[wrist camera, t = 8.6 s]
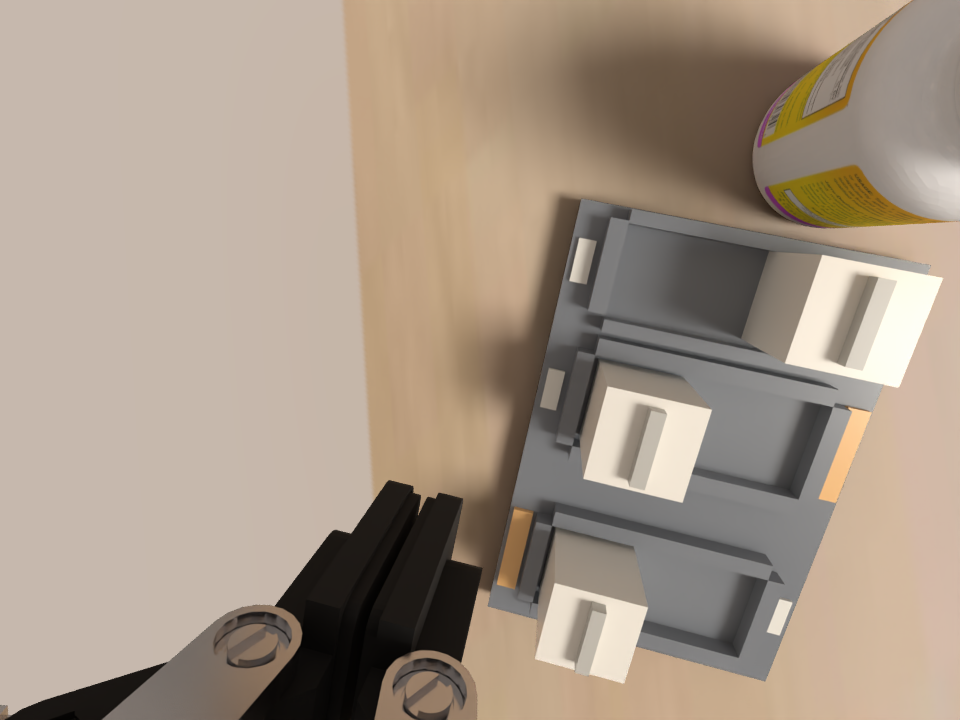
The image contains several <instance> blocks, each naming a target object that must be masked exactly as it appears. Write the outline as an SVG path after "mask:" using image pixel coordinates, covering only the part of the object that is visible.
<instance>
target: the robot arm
mask: <svg viewBox="0 0 960 720" xmlns="http://www.w3.org/2000/svg"><path fill="white" fill-rule="evenodd" d="M413 489H414V488H413V486H411V485H407V484H403V483H399V482H395V481H391V480H388V482H387V483H386V484H385V486H384V487H383V489H382V490H381V491H380V493H379V494H378V496H377V497H376V499H375V500H374V502H373V503H372V505H371V506H370V507H369V509H368V510H367V512H366V513H365V515H364V516H363V518H362V519H361V520H360V522H359V523H358V525H357V526H356V528H355V529H354V531H353V532H352V533H351V534H350V533H346V532H342V531H338V530H334V531H332V532H331V533H330V534H329V536H328V537H327V538H326V540H325V541H324V542H323V543H322V545H321V546H320V547H319V549H318V550H317V551H316V553H315V554H314V555H313V556H312V558H311V559H310V560H309V562H308V563H307V564H306V566H305V567H304V568H303V570H302V571H301V572H300V574H299V575H298V576H297V577H296V579H295V580H294V581H293V583H292V584H291V586H290V587H289V588H288V589H287V591H286V592H285V593H284V595H283V596H282V597H281V598H280V600H279V601H278V602H277V604H276V605H275V606H270V605H253V606H247V607H241V608H239V609H236V610H234V611H231V612H229V613H227V614H225V615H224V616H222V617H221V618H219V619H218V620H216V621H215V622H214V623H213V624H211V625H210V626H209V627H208V628H207V629H206V630H204V631H203V632H202V633H201V634H200V635H199V636H198V637H196V639H194V640H193V641H192V642H191V643H190V644H188V645H187V646H186V647H185V648H184V649H183V650H182V651H180V652H179V653H178V654H177V655H176V656H175V657H173V658H172V659H171V660H170V661H169V662H166V663H163V664H160V665H156V666H153V667H150V668H147V669H143V670H140V671H137V672H134V673H130V674H127V675H124V676H121V677H118V678H114V679H111V680H108V681H105V682H101V683H98V684H95V685H92V686H89V687H86V688H82V689H79V690H76V691H73V692H69V693H66V694H63V695H60V696H56V697H53V698H50V699H47V700H43V701H41V702H38V703H36V704H33V705H31V706H28V707H26V708H24V709H21V710H20V711H18V712H17V713H15V714H13V715H8V706H5V705H3V706H2V705H0V720H477V691H476V685H475V682H474V680H473V678H472V676H471V674H470V672H469V671H468V670H467V669H466V668H465V667H464V666H463V665H462V664H461V662H462V657H463V653H464V649H465V644H466V640H467V635H468V631H469V626H470V622H471V618H472V613H473V609H474V604H475V600H476V595H477V591H478V586H479V582H480V577H481V573H482V568H480V567H476V566H472V565H469V564H465V563H461V562H457V561H453V560H451V558H452V553H453V548H454V543H455V538H456V533H457V528H458V524H459V519H460V514H461V509H462V504H463V498H459V497H455V496H451V495H447V494H443V493H438V495H437V497H436V499H435V498H431V497H427V499H426V501H425V503H424V505H423V507H422V509H421V511H420V513H419V515H418V512H419V506H420V500H421V495H419V494H415V493H413Z"/></svg>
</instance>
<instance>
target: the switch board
mask: <svg viewBox="0 0 960 720" xmlns="http://www.w3.org/2000/svg"><path fill="white" fill-rule="evenodd" d="M930 267H931V265H927V264H922V263H916V262H911V261H906V260H901V259H895V258H890V257H885V256H880V255H875V254H869V253H864V252H859V251H854V250H848V249H843V248H838V247H833V246H827V245H822V244H817V243H812V242H806V241H801V240H796V239H791V238H786V237H780V236H775V235H770V234H765V233H759V232H754V231H749V230H744V229H738V228H733V227H728V226H723V225H718V224H712V223H707V222H702V221H697V220H691V219H686V218H681V217H676V216H670V215H665V214H660V213H655V212H650V211H644V210H639V209H634V208H629V207H623V206H618V205H613V204H608V203H602V202H597V201H592V200H587V199H581V201H580V205H579V210H578V214H577V219H576V223H575V227H574V232H573V236H572V240H571V245H570V249H569V253H568V258H567V262H566V266H565V271H564V275H563V279H562V284H561V288H560V292H559V297H558V301H557V306H556V310H555V314H554V319H553V323H552V327H551V332H550V336H549V340H548V345H547V349H546V353H545V358H544V362H543V366H542V371H541V375H540V379H539V384H538V388H537V392H536V397H535V401H534V406H533V410H532V414H531V419H530V423H529V427H528V432H527V436H526V440H525V445H524V449H523V453H522V458H521V462H520V466H519V471H518V475H517V479H516V484H515V488H514V493H513V497H512V501H511V506H510V510H509V514H508V519H507V523H506V527H505V532H504V536H503V540H502V545H501V549H500V553H499V558H498V562H497V566H496V571H495V575H494V580H493V584H492V588H491V593H490V598H489V603H488V606H489V607H492V608H496V609H500V610H503V611H507V612H511V613H514V614H518V615H522V616H525V617H529V618H533V619H537V616H538V600H539V587H540V583H541V580H542V576H543V572H544V568H545V564H546V560H547V556H548V552H549V548H550V544H551V540H552V537H553V533H554V529H555V527H558V528H562V529H566V530H570V531H574V532H578V533H582V534H586V535H590V536H594V537H598V538H602V539H606V540H610V541H614V542H618V543H622V544H626V545H630V546H634V550H635V554H636V558H637V562H638V567H639V571H640V575H641V579H642V584H643V588H644V592H645V596H646V601H647V605H648V610H647V613H646V616H645V619H644V622H643V625H642V628H641V632H640V635H639V638H638V641H637V644H636V647H640V648H644V649H647V650H651V651H655V652H658V653H662V654H666V655H669V656H673V657H677V658H680V659H684V660H688V661H692V662H695V663H699V664H703V665H706V666H710V667H714V668H717V669H721V670H725V671H728V672H732V673H736V674H740V675H743V676H747V677H751V678H754V679H758V680H762V681H766V678H767V676H768V673H769V671H770V668H771V666H772V663H773V661H774V658H775V656H776V653H777V651H778V648H779V646H780V643H781V641H782V638H783V636H784V633H785V631H786V628H787V626H788V623H789V621H790V618H791V616H792V613H793V611H794V608H795V606H796V603H797V601H798V598H799V596H800V593H801V591H802V588H803V586H804V583H805V581H806V578H807V576H808V573H809V571H810V568H811V565H812V563H813V560H814V558H815V555H816V553H817V550H818V548H819V545H820V543H821V540H822V538H823V535H824V533H825V530H826V528H827V525H828V523H829V520H830V518H831V515H832V513H833V510H834V508H835V505H836V503H837V500H838V498H839V495H840V493H841V490H842V488H843V485H844V483H845V480H846V478H847V475H848V473H849V470H850V468H851V465H852V463H853V460H854V457H855V455H856V452H857V450H858V447H859V445H860V442H861V440H862V437H863V435H864V432H865V430H866V427H867V425H868V422H869V420H870V417H871V415H872V412H873V410H874V407H875V405H876V402H877V400H878V397H879V395H880V392H881V390H882V387H883V385H888V386H893V387H898V388H899V386H900V383H901V381H902V378H903V376H904V373H905V371H906V368H907V366H908V363H909V361H910V359H911V356H912V354H913V351H914V349H915V346H916V344H917V341H918V339H919V336H920V334H921V331H922V329H923V327H924V324H925V322H926V319H927V317H928V314H929V312H930V309H931V307H932V304H933V302H934V299H935V297H936V295H937V292H938V290H939V287H940V285H941V282H942V280H943V278H940V277H935V276H929V275H927V274H928V272H929V269H930ZM599 359H604V360H608V361H613V362H618V363H622V364H627V365H631V366H636V367H640V368H645V369H649V370H654V371H659V372H663V373H668V374H672V375H677V376H681V377H684V378H685V379H686V381H687V382H688V383H689V384H690V385H691V386H692V387H693V389H694V390H695V391H696V392H697V393H698V394H699V395H700V397H701V398H702V399H703V400H704V401H705V402H706V403H707V405H708V406H709V407H710V408H711V409H712V412H711V415H710V418H709V421H708V424H707V427H706V431H705V434H704V437H703V440H702V443H701V446H700V449H699V453H698V456H697V459H696V462H695V465H694V468H693V471H692V474H691V478H690V481H689V484H688V487H687V490H686V493H685V496H684V500H683V503H681V502H677V501H673V500H668V499H664V498H660V497H656V496H652V495H648V494H644V493H640V492H635V491H631V490H627V489H623V488H619V487H615V486H611V485H607V484H603V483H598V482H594V481H590V480H586V479H583V471H582V460H581V449H580V438H579V434H580V430H581V426H582V422H583V419H584V415H585V411H586V407H587V403H588V399H589V395H590V391H591V387H592V383H593V379H594V376H595V372H596V368H597V364H598V360H599Z"/></svg>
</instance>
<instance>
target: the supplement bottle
mask: <svg viewBox="0 0 960 720" xmlns="http://www.w3.org/2000/svg"><path fill="white" fill-rule="evenodd" d="M753 170H754V176H755V180H756V183H757V186H758V188H759V190H760V192H761V194H762V195H763V197H764V199H765V200H766V201H767V203H768V204H769V205H770V206H771V207H772V208H773V209H774V210H775V211H776V212H778V213H779V214H780V215H782V216H783V217H785V218H787V219H788V220H791V221H793V222H795V223H798V224H801V225H804V226H809V227H815V228H847V227H866V226H886V225H905V224H922V223H939V222H959V221H960V0H912V1H911V2H909V3H908V4H906V5H905V6H903V7H902V8H901V9H899V10H898V11H896V12H895V13H894V14H892V15H891V16H889V17H888V18H886V19H885V20H883V21H882V22H880V23H879V24H878V25H876V26H875V27H873V28H872V29H870V30H869V31H867V32H866V33H864V34H863V35H862V36H860V37H859V38H857V39H856V40H854V41H853V42H851V43H850V44H848V45H847V46H845V47H844V48H843V49H841V50H840V51H838V52H837V53H835V54H834V55H832V56H831V57H830V58H828V59H827V60H825V61H824V62H822V63H821V64H819V65H818V66H816V67H815V68H814V69H812V70H811V71H809V72H808V73H806V74H805V75H804V76H802V77H801V78H799V79H798V80H797V81H796V82H794V83H793V84H792V85H791V86H790V87H788V88H787V89H786V90H785V91H784V92H783V93H782V94H781V95H780V96H779V97H778V98H777V99H776V101H775V102H774V103H773V104H772V106H771V107H770V108H769V110H768V111H767V113H766V115H765V116H764V118H763V120H762V122H761V124H760V127H759V129H758V132H757V135H756V138H755V142H754V148H753Z"/></svg>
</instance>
